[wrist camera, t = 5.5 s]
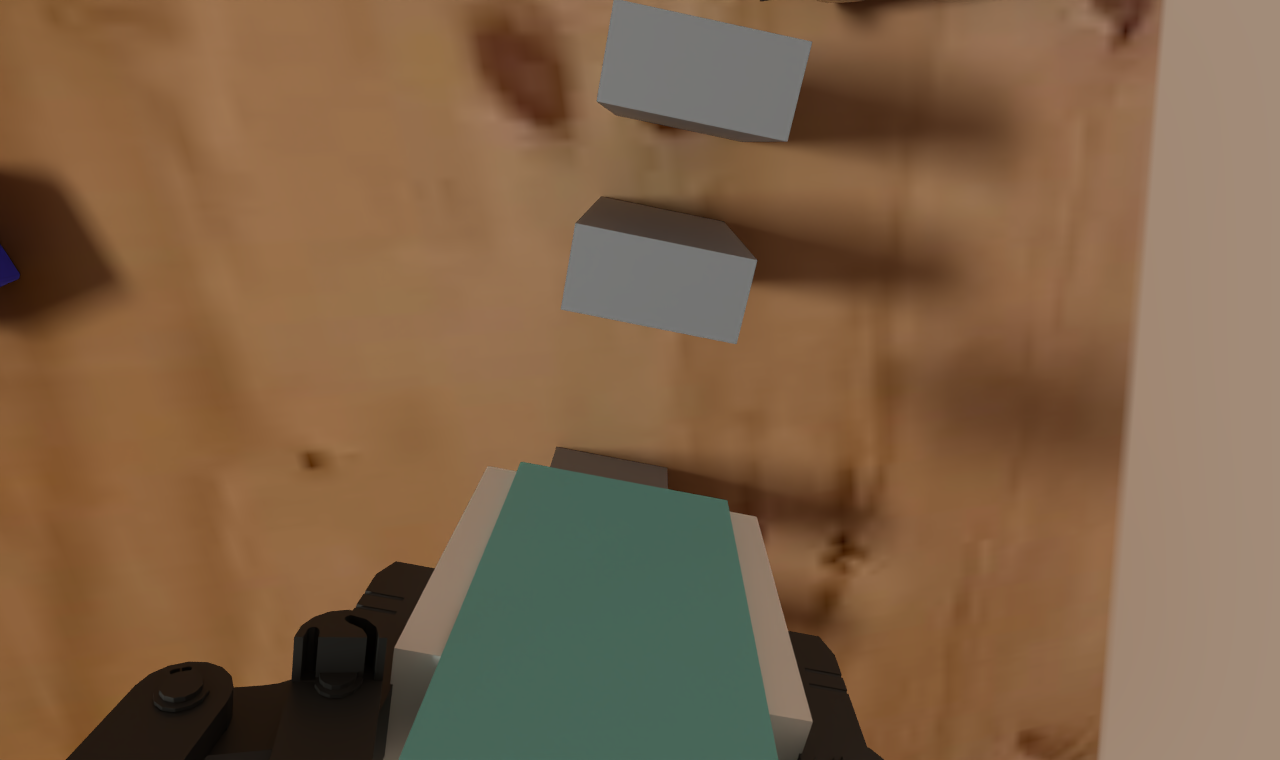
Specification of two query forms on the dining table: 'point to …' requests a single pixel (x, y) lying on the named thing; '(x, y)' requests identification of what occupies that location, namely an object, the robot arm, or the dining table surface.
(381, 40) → the dining table surface
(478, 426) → the dining table surface
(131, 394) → the dining table surface
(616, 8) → the domino
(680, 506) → the domino
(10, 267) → the die
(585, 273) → the domino
